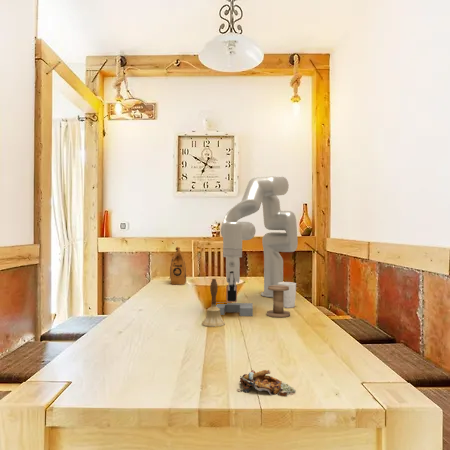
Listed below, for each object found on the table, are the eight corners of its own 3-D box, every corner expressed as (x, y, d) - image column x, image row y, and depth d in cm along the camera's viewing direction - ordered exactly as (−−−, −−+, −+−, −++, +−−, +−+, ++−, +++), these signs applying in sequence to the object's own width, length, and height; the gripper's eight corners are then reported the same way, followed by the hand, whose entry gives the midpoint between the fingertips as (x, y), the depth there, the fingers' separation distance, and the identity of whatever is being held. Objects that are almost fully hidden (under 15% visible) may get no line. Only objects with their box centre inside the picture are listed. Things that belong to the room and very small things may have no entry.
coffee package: (168, 285, 225) (168, 247, 226) (170, 282, 238) (170, 246, 238) (185, 285, 226) (185, 247, 226) (186, 282, 238) (186, 246, 239)
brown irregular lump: (294, 399, 77) (294, 382, 77) (235, 394, 80) (235, 376, 80) (296, 386, 84) (296, 369, 84) (241, 380, 86) (241, 365, 86)
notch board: (252, 310, 157) (252, 303, 158) (252, 316, 148) (252, 308, 148) (213, 309, 158) (213, 302, 158) (211, 315, 148) (211, 307, 148)
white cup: (295, 304, 170) (295, 282, 170) (296, 308, 162) (296, 284, 162) (277, 304, 171) (277, 281, 171) (277, 308, 163) (278, 284, 163)
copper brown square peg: (236, 300, 153) (237, 283, 153) (236, 302, 149) (236, 284, 149) (226, 300, 153) (227, 283, 153) (226, 302, 149) (226, 284, 149)
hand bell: (230, 324, 136) (230, 278, 136) (213, 328, 129) (213, 281, 130) (213, 320, 141) (213, 276, 141) (196, 324, 135) (197, 278, 135)
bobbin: (266, 312, 155) (266, 284, 155) (288, 312, 154) (288, 285, 154) (267, 317, 146) (267, 288, 146) (291, 317, 145) (291, 288, 145)
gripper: (241, 254, 143) (241, 304, 142) (242, 252, 159) (242, 296, 159) (221, 254, 143) (221, 303, 143) (224, 251, 160) (223, 296, 159)
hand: (232, 299), depth 151 cm, fingers closed on copper brown square peg, 4 cm apart
